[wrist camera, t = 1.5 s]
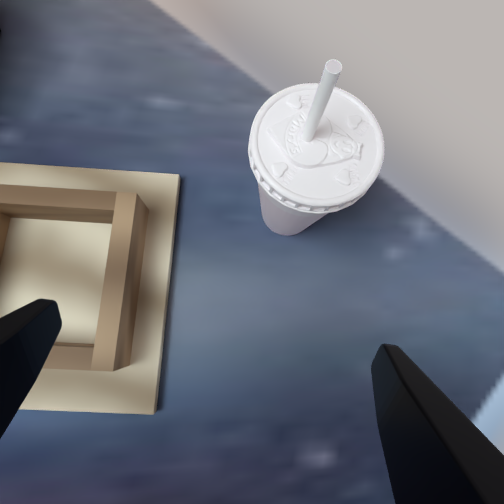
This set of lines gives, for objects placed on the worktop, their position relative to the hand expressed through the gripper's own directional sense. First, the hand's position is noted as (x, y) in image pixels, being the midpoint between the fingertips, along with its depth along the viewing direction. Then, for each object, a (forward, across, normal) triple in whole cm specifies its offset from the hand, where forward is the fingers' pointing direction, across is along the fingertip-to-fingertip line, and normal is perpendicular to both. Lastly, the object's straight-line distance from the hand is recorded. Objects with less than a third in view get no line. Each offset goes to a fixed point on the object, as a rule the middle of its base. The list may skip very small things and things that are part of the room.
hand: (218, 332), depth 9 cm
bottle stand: (+11, +12, +8) cm, 18 cm away
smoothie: (+16, -3, +4) cm, 17 cm away
